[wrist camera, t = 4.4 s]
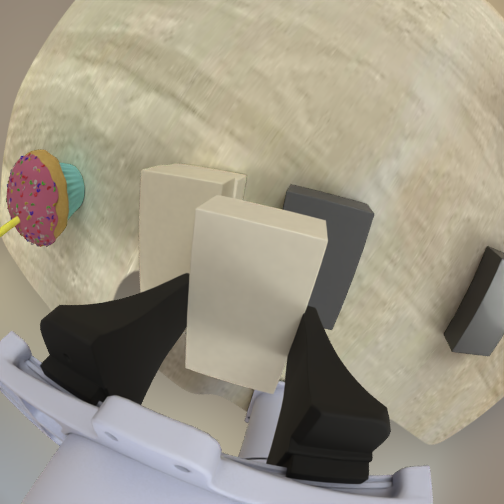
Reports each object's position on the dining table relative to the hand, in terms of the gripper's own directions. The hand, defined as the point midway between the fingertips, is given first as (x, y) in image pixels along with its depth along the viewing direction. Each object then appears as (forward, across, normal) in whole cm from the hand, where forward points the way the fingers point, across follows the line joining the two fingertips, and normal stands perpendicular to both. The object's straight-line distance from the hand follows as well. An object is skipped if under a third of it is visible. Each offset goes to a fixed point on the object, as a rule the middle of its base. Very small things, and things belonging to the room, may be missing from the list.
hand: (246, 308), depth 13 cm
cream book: (+1, 0, 0) cm, 1 cm away
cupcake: (+9, +20, -1) cm, 22 cm away
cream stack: (+8, +6, 0) cm, 10 cm away
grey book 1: (+8, -3, 0) cm, 9 cm away
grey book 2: (+8, -20, 0) cm, 22 cm away
